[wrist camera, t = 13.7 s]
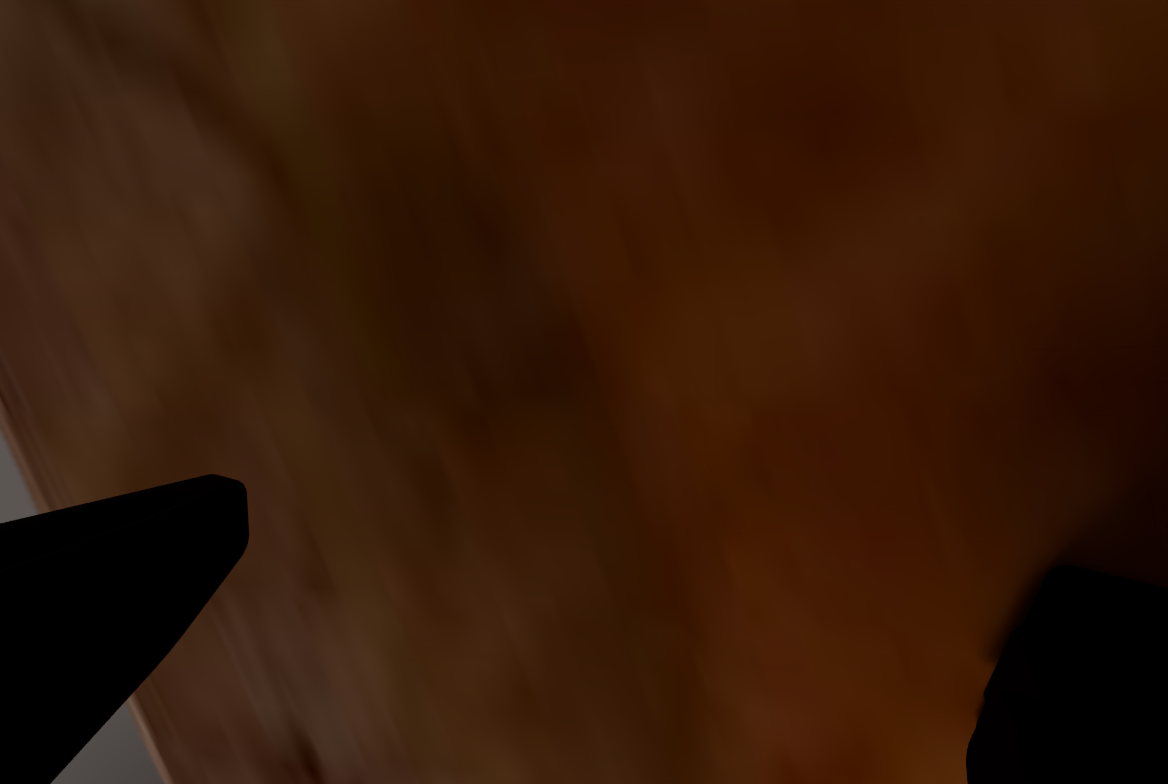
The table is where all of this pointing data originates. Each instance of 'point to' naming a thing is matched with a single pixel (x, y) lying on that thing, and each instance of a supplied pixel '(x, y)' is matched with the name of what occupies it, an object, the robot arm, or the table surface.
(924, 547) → the table surface
